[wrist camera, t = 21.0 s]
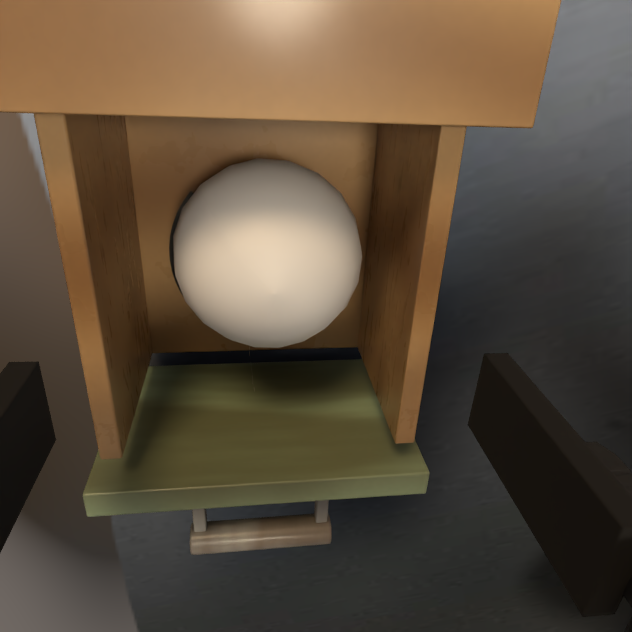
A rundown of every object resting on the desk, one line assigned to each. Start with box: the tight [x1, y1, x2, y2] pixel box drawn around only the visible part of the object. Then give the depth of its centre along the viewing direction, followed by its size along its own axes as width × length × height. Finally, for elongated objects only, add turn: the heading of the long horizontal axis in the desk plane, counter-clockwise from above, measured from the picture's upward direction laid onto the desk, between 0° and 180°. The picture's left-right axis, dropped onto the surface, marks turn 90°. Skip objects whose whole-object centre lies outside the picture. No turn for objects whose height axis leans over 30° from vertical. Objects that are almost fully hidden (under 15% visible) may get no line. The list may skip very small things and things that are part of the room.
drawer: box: [34, 113, 467, 555], centre depth 22 cm, size 23×14×9 cm, turn 178°
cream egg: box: [169, 158, 362, 378], centre depth 21 cm, size 10×7×7 cm
